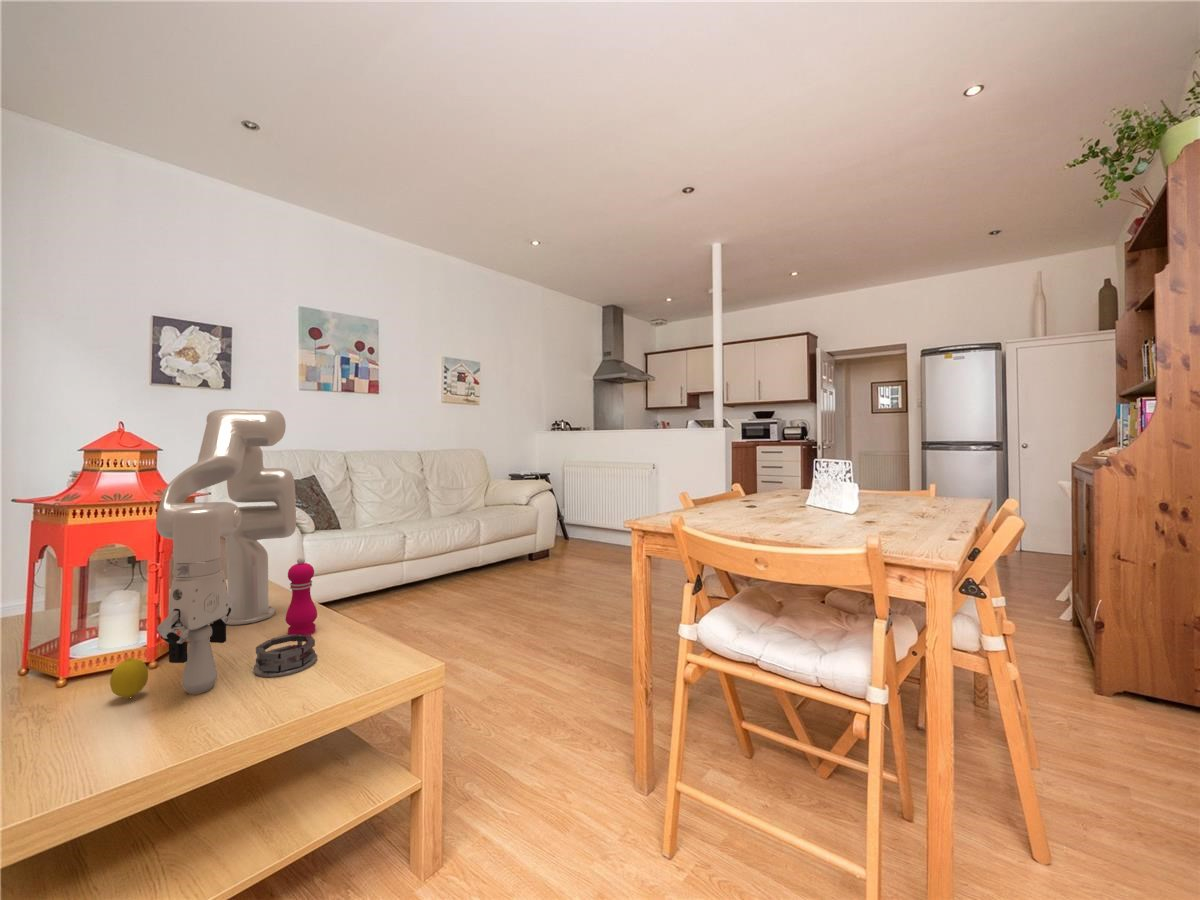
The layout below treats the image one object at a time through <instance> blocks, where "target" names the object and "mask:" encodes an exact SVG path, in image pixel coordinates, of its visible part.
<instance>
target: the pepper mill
mask: <svg viewBox="0 0 1200 900" xmlns="http://www.w3.org/2000/svg"><path fill="white" fill-rule="evenodd" d="M305 560H306V559H305V558H304V557H298V559H297V560H296V564H294V565H292V566H290V568H289V569H288V572H287V578H288V579H287V580H289V581H290V583H289V586H290V587H289V588H290V590H291V593H292V594H291V601H290V603H289V606H288V609H287V611H286V614H285V623H286V624H287V625H288V628H287V635H290V634H291V635H292V634H308V635H313V634H314V633H315V632H316V623H315V621H316V619H317V618H318V611H317V607H316V605H315V603H314V601H313V599H312V596H311V588H312V587H313V584H312V583H313V580H312V578H313V577H314V575H315V570H314V567H313V565H312V564H310V563H307V562H306V561H305Z"/></svg>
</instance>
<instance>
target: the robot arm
mask: <svg viewBox="0 0 1200 900" xmlns="http://www.w3.org/2000/svg"><path fill="white" fill-rule="evenodd" d="M285 433H286V420H285V417H284V415H283V414H282V413H281V412H280V411H278V410H273V409H270V410H269V409H245V408H244V409H239V408H238V409H237V408H235V409H234V408H231V409H230V408H226V409H225V408H223V409H217V410H216V409H215V410H212V411H210V412H209V413H208V414H207V415H206V425H205V429H204V433H203V437H202V441H201V446H200V450H199V454H198V458H197V461H196V463H194V464H192V465H190V466H189V467H188V468H186V469H185V470H183V471H182V472H180V473H179V474H178V475H176V477H174V478H173V479H172V480H171V481H170V482H169V483H168V484H167V486H166V487H165V489H164V491H163V493H162V495H161V498H160V503H159V505H158V509H157V513H156V520H155V521H156V522H155V525H156V531H157V533H158V534H159V536H161V537H163V538H164V539H166V540H167V539H169V540H172V544H173V545H172V547H173V570H172V572H171V573H172V575H173V579H172V580H171V586H170V592H169V601H168V616H167V617H165V618H164V619H163V620H162V622H160V623H159V625H157V627H156V630H157V632H158V633H159V635H160V638H161V639H162V640H163V641H165V644H168V661H169V663H171V664H186V661H187V654H188V641H185V640H186V636H187V634H188V632H189V631H190V630H196V629H199V628H201V627H203V626H205V625H210V626H211V627H212V636H211V637H209V640H210V644H212V643H213V644H214V643H215V644H223V643H225V642H227V625H228V626H229V625H230V626H231V625H232V626H233V625H235V626H237V625H247V624H253V623H258V622H261V621H263V620H267V619H269V618H271V617H273V616H274V615H275V614H276V609H275V607H273V606H270V605H269V602H270V601H269V598H270V597H269V556H268V555H269V554H268V552H267V550H266V549H265V547H264V546H263V545H262V544H261V543H260V542H259V541H261V540H270V539H271V540H272V539H283V538H289V537H292V536H293V535H294V533H295V532H296V527H297V509H296V507H297V506H296V505H297V503H296V486H295V485H296V483H295V478H294V475H293V473H292V471H290V470H289V469H287V468H283V467H281V468H280V467H272V468H271V467H270V468H268V467H267V468H265V466H264V458H263V457H264V455H263V450H262V448H261V447H272V446H275V445H276V444H277V443H279V442H280V441H281V440H282V439H283V438H284V435H285ZM223 482H226V488H227V494H228V498H229V499H230V500H231V501H232V502H236V503H242V504H243V503H245V504H246V503H270V502H271V503H272V502H273V503H275V504H273V505H250V506H248V505H247V506H238V505H236V504H235V503H232V502H228V501H215V502H214V501H211V502H207V501H205V502H185V501H186V500H187V499H188V498H190V496H192V495H193V494H194V493H197V492H199V491H201V490H204V489H206V488H209V487H212V486H215V485H217V484H221V483H223ZM221 537H224V539H225V547H226V565H227V570H226V572H227V573H226V574H227V580H226V576H225V572H224V570H223V569H221V567H222V563H221V559H222V558H221ZM178 632H180V633H179V635H178Z"/></svg>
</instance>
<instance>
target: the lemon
mask: <svg viewBox="0 0 1200 900" xmlns="http://www.w3.org/2000/svg"><path fill="white" fill-rule="evenodd" d="M148 680H149V671H148V667H147V665H146V663H145V662H144V661H143V660H141V659H137V658H132V657H128V658H126V659H125V660H124V661H121V662H119V664H117V666H115V667H114V669H113V670H112V673H111V675H110V680H109V681H110V682H109V685H110V689H111V692H112V693H113V694H115V695H116V696H118V697H121V698H123V697H124V698H126V699H131V698H130V697H132V698H133V697H134V696H135V695H136V694H138V693H140V692H141V691H142V690H143V689H144V687H145V686H146V685H147V683H148Z"/></svg>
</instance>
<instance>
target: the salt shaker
mask: <svg viewBox="0 0 1200 900" xmlns="http://www.w3.org/2000/svg"><path fill="white" fill-rule="evenodd" d="M211 636H212V627H211V626H210V624H208V625H205V626H203V627H201V628H199V629H196V630H190V631H189V632H188V634H187V636H186V638H185V640H186V642H189V645H188V648H187V661H186V662H185V663H184V664H185V665H184V670H183V673H182V674H183V675H182V679H181V686H182V688H183V689H184V690H185V693H186V694H187V693H189V694H188V695H193V696H195V694H196V695H199V693H200V694H203V692H204V693H207V692H208V691H210V690H211V689H213V688H214V686H215V683H216V682H217V678H218V671H217V666H216V663H215V662H216V661H215V658H214V655H213V654H214V653H213V649H212V645H211V642H210V637H211Z"/></svg>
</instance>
